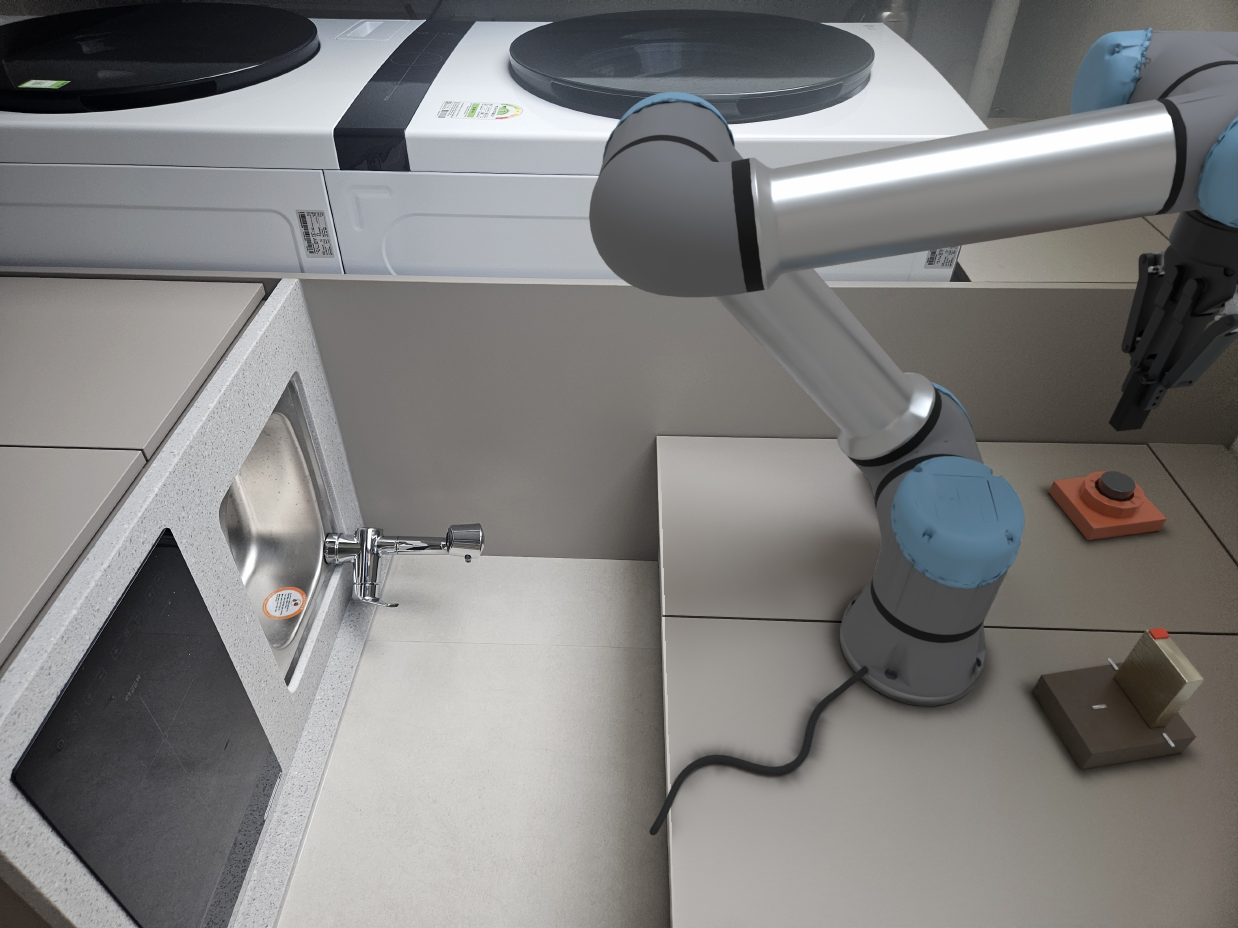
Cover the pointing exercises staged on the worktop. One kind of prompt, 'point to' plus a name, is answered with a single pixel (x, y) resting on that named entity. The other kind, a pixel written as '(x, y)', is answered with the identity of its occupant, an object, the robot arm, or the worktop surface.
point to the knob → (1157, 677)
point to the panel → (1104, 719)
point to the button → (1116, 486)
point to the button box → (1105, 509)
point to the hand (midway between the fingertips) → (1124, 425)
